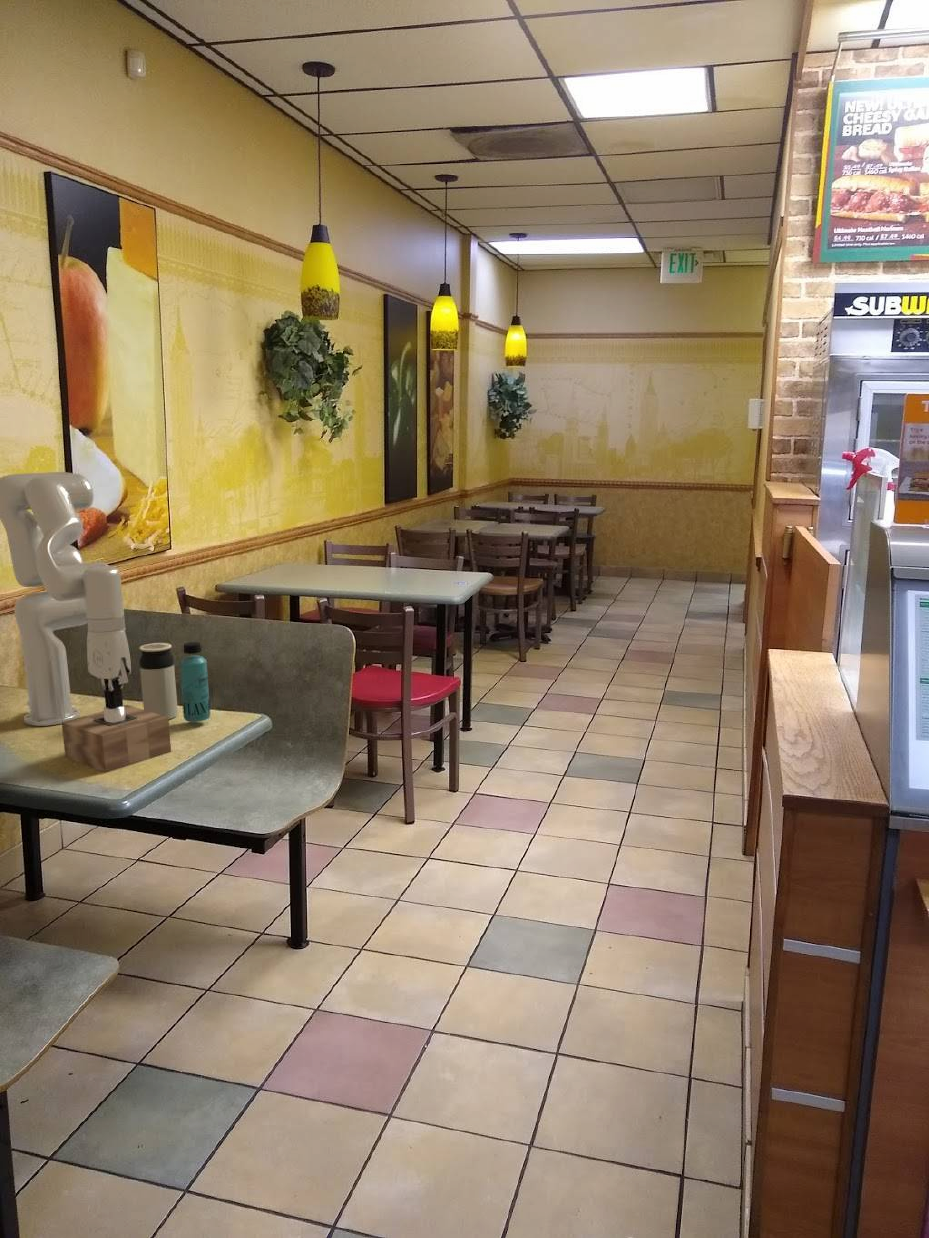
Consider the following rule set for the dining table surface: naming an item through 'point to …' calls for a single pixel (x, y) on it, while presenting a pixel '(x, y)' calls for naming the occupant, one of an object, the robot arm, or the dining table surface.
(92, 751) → the block
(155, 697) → the travel mug
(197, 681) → the beverage bottle
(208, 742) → the dining table surface
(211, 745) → the dining table surface
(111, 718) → the steel dowel
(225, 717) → the dining table surface
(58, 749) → the dining table surface
